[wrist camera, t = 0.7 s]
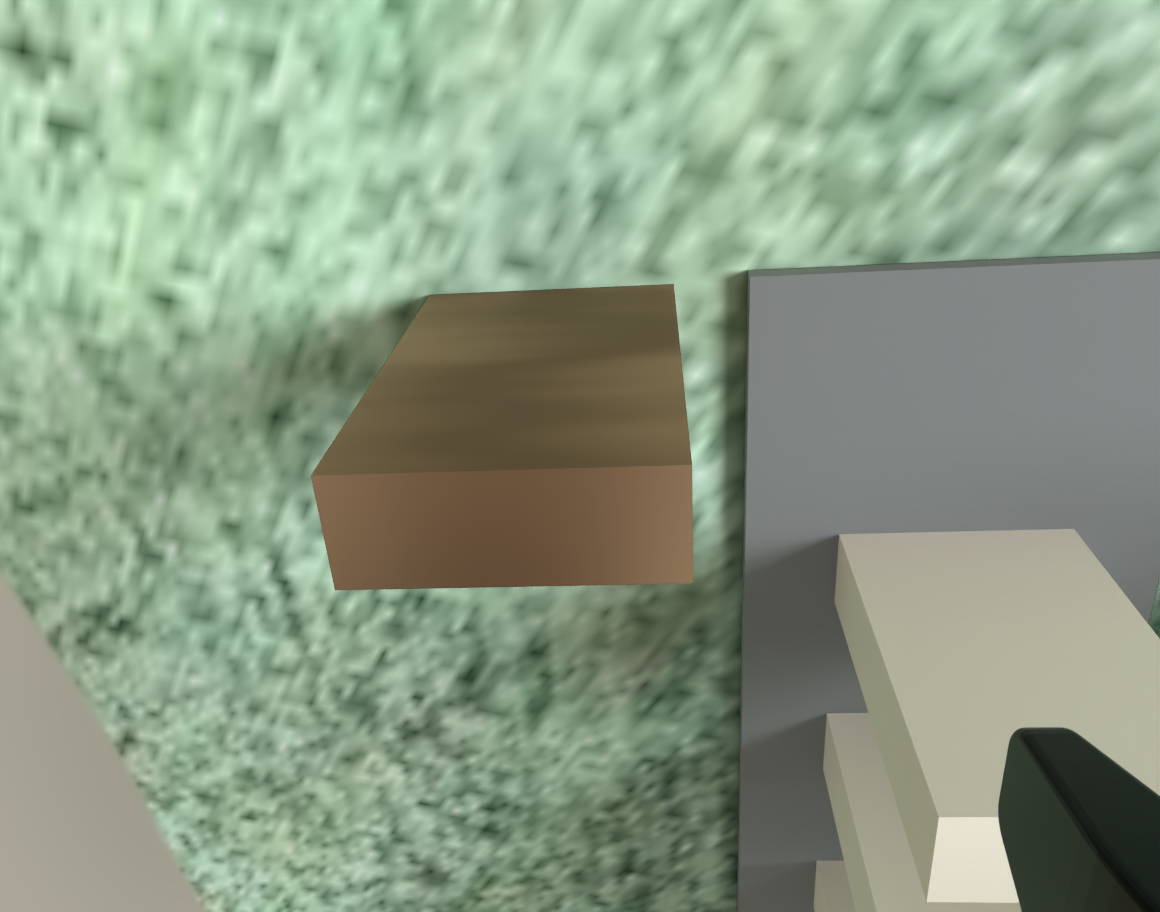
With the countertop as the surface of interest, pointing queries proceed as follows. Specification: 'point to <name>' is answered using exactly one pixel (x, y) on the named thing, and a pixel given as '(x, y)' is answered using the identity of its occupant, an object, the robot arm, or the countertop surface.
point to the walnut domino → (518, 448)
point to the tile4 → (832, 888)
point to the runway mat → (920, 477)
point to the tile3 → (875, 825)
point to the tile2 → (989, 678)
